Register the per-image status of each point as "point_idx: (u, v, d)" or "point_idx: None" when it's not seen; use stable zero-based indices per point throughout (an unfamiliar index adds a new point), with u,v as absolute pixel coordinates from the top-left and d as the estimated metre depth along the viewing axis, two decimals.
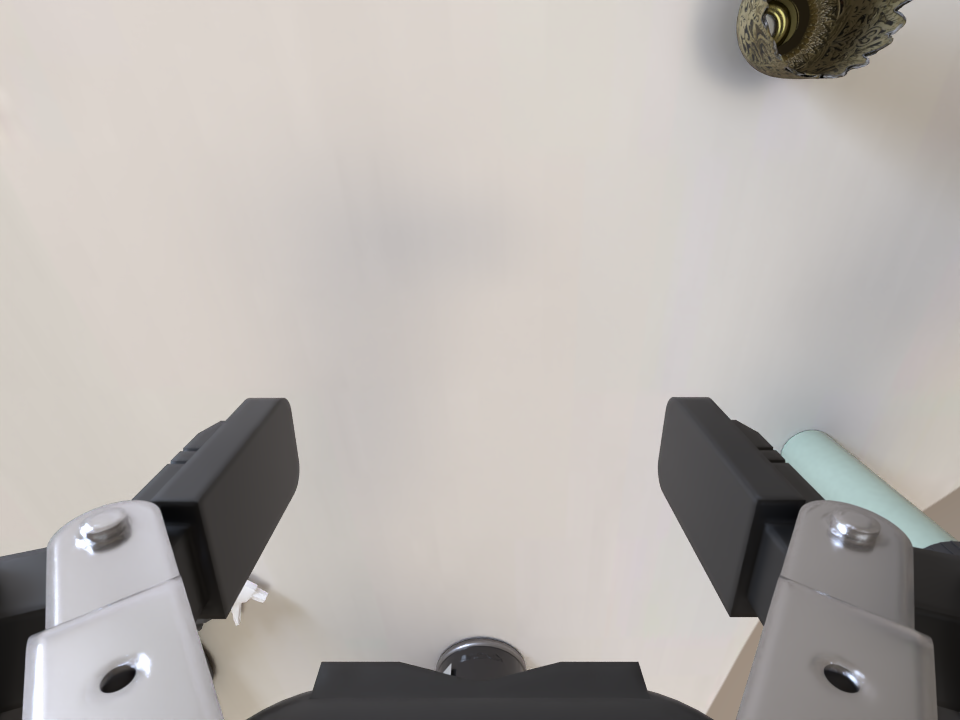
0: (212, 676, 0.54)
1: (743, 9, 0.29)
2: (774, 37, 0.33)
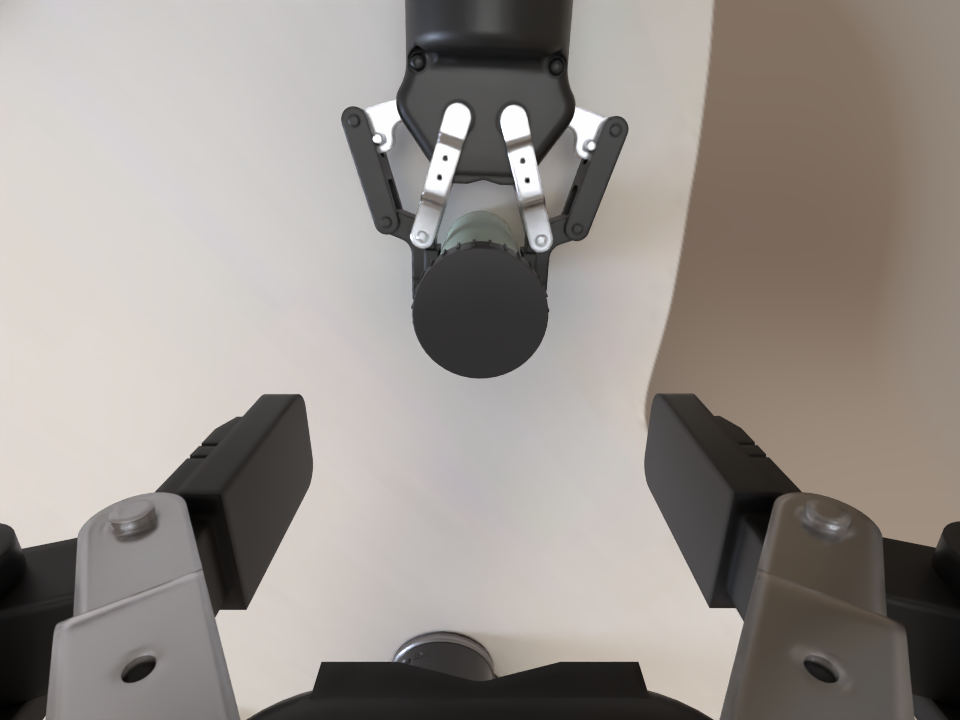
0: None
1: None
2: None
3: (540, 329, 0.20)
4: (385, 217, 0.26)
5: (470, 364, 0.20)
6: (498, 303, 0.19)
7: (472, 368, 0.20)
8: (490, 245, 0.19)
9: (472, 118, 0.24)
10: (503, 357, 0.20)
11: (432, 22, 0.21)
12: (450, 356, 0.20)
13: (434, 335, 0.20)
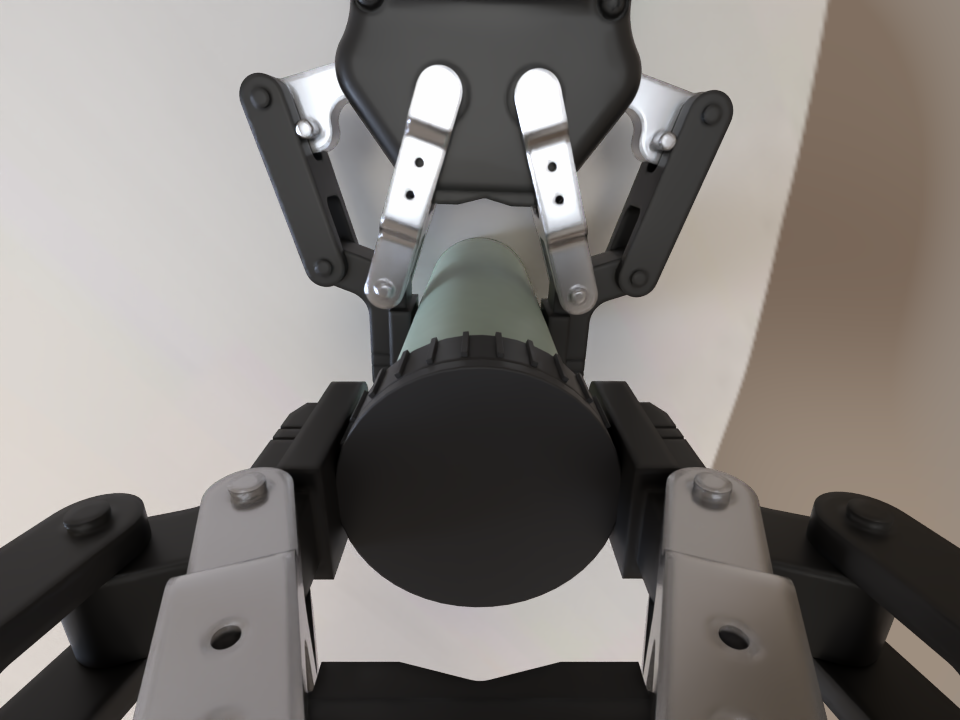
0: None
1: None
2: None
3: (604, 522, 0.09)
4: (322, 260, 0.16)
5: (458, 584, 0.10)
6: (517, 475, 0.09)
7: (463, 590, 0.10)
8: (500, 355, 0.09)
9: (465, 94, 0.14)
10: (526, 572, 0.10)
11: None
12: (417, 570, 0.10)
13: (383, 533, 0.09)
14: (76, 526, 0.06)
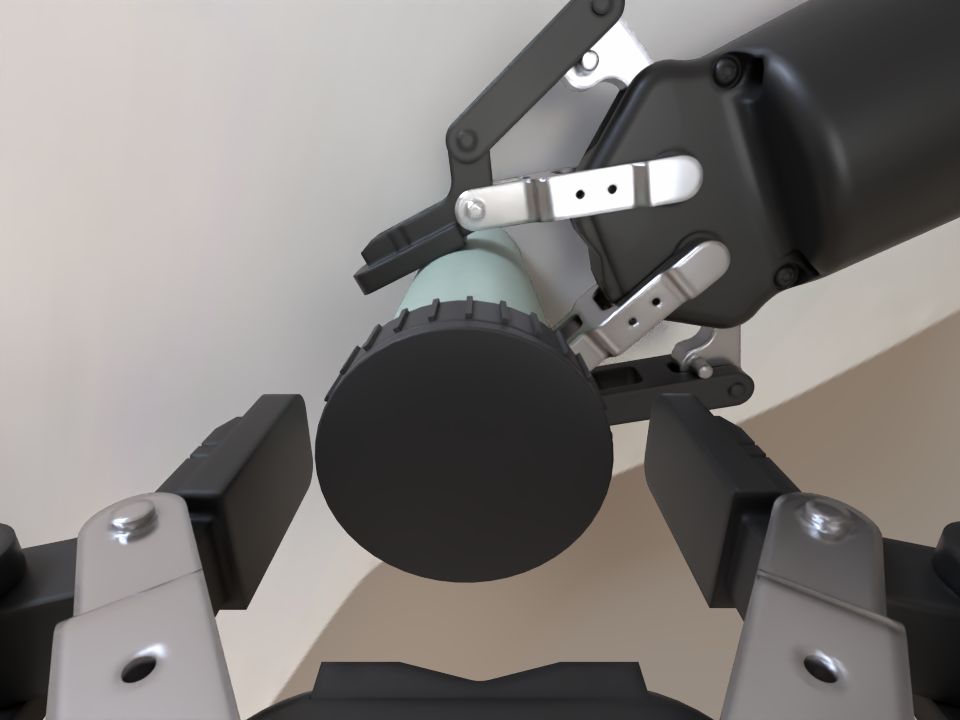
0: None
1: None
2: None
3: (601, 454, 0.09)
4: (474, 135, 0.14)
5: (481, 558, 0.10)
6: (492, 432, 0.09)
7: (488, 564, 0.10)
8: (431, 318, 0.08)
9: None
10: (542, 528, 0.09)
11: (820, 70, 0.12)
12: (436, 556, 0.10)
13: (388, 529, 0.09)
14: None
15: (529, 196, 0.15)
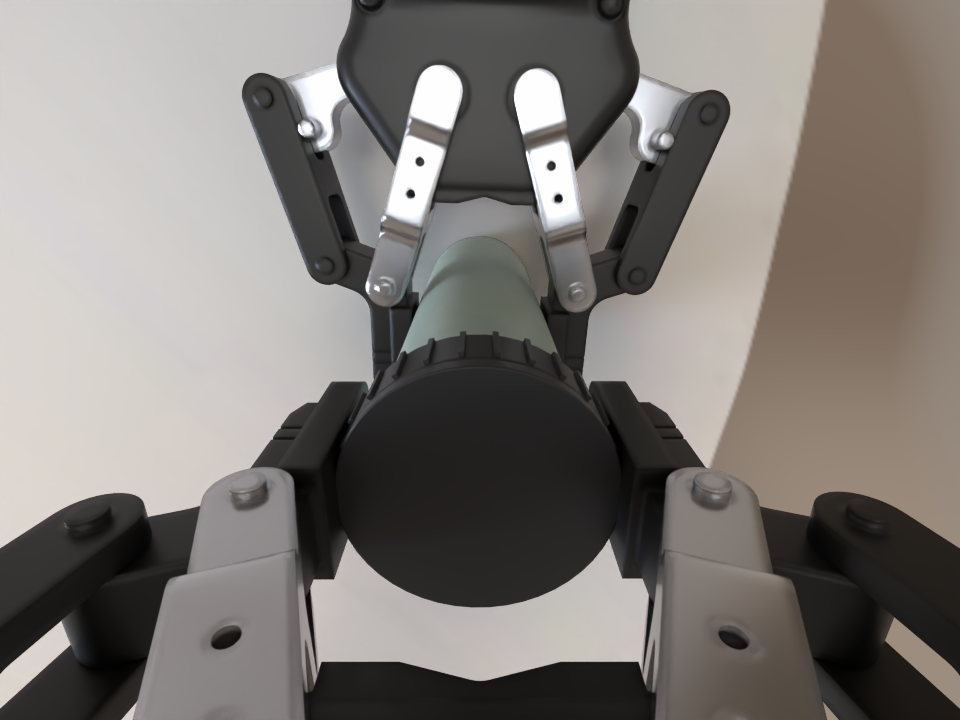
0: None
1: None
2: None
3: (531, 387, 0.08)
4: (324, 258, 0.16)
5: (581, 530, 0.09)
6: (455, 462, 0.09)
7: (591, 528, 0.09)
8: (340, 448, 0.09)
9: (465, 93, 0.14)
10: (581, 469, 0.09)
11: None
12: (554, 560, 0.10)
13: (503, 579, 0.10)
14: (76, 525, 0.06)
15: (394, 237, 0.16)
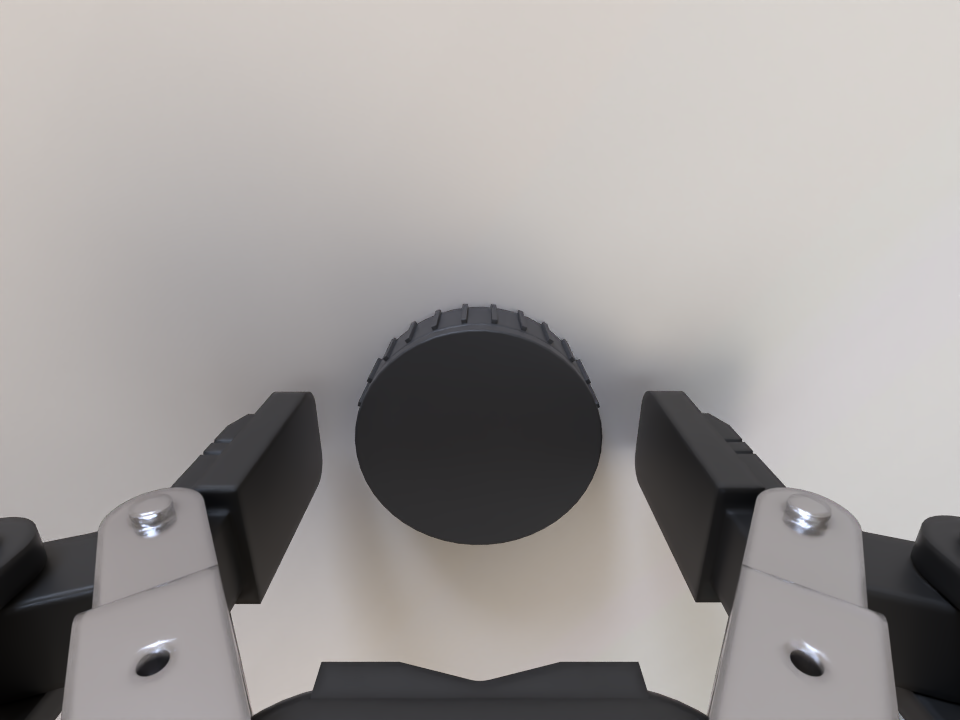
0: None
1: None
2: None
3: (523, 348, 0.10)
4: None
5: (566, 474, 0.11)
6: (459, 414, 0.10)
7: (575, 472, 0.11)
8: (360, 404, 0.11)
9: None
10: (565, 420, 0.10)
11: None
12: (543, 502, 0.11)
13: (500, 519, 0.11)
14: None
15: None
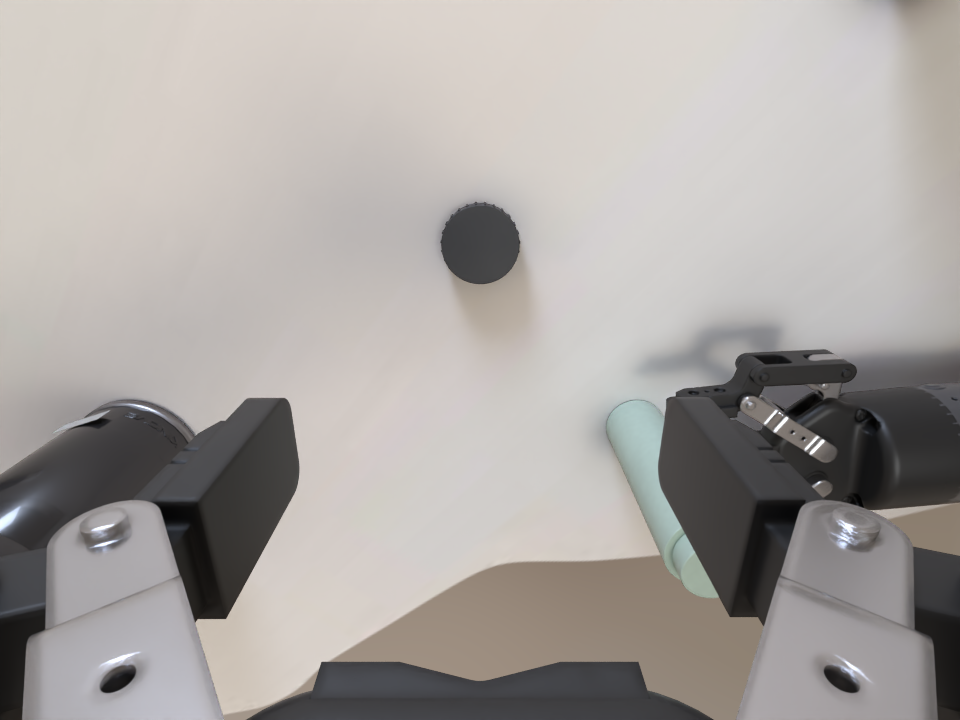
0: None
1: None
2: None
3: (493, 211, 0.33)
4: (768, 378, 0.31)
5: (508, 256, 0.34)
6: (474, 234, 0.33)
7: (511, 255, 0.34)
8: (442, 232, 0.34)
9: None
10: (507, 236, 0.33)
11: (901, 442, 0.30)
12: (501, 266, 0.34)
13: (487, 273, 0.34)
14: None
15: (773, 416, 0.32)
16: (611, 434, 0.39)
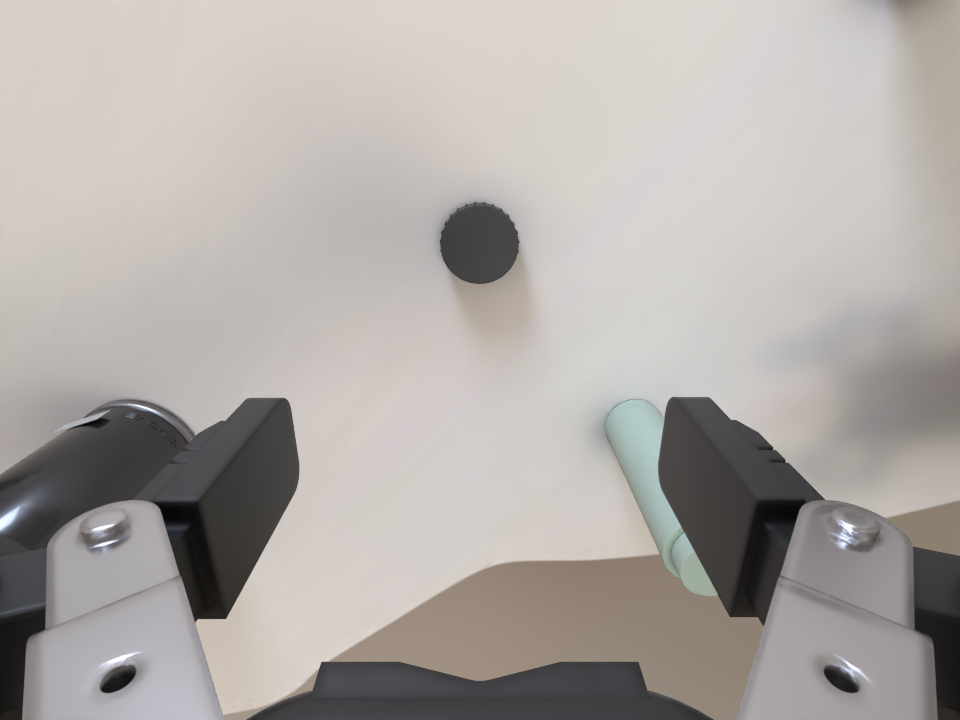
0: None
1: None
2: None
3: (492, 211, 0.33)
4: None
5: (507, 255, 0.34)
6: (473, 234, 0.34)
7: (510, 255, 0.34)
8: (442, 232, 0.34)
9: None
10: (506, 235, 0.34)
11: None
12: (500, 266, 0.34)
13: (486, 273, 0.34)
14: None
15: None
16: (610, 433, 0.39)
